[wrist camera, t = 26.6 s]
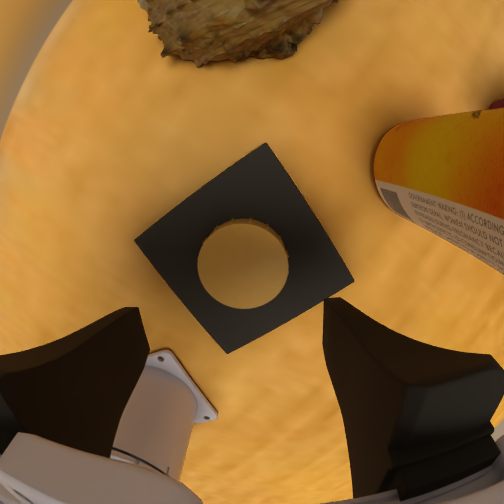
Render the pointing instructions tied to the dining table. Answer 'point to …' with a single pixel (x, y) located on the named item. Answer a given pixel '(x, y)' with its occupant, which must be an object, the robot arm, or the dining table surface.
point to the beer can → (449, 179)
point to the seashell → (232, 27)
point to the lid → (243, 263)
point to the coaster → (258, 208)
